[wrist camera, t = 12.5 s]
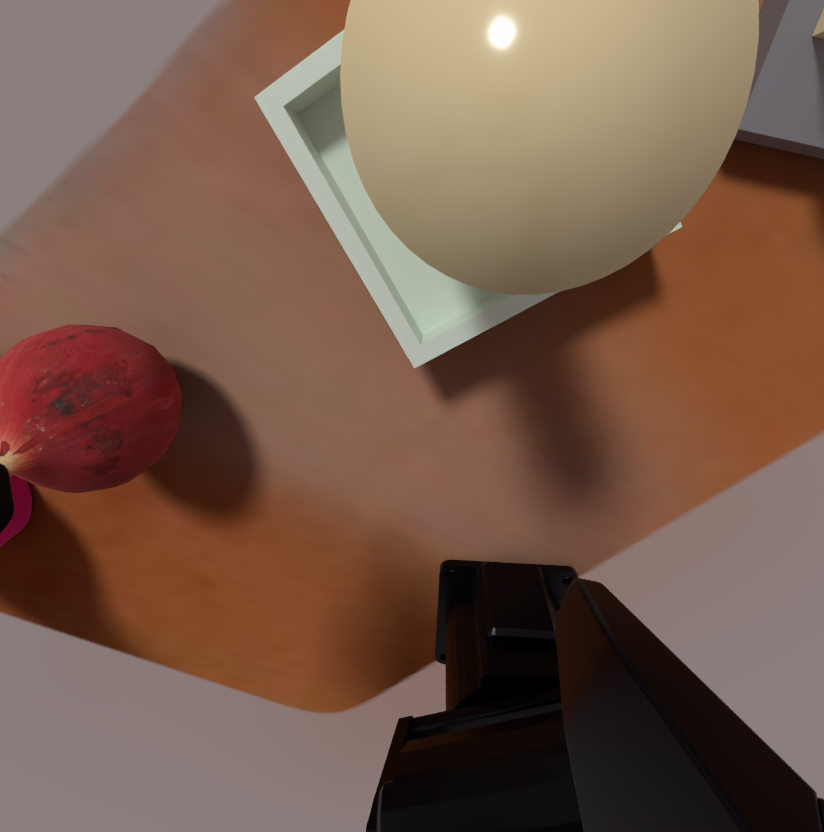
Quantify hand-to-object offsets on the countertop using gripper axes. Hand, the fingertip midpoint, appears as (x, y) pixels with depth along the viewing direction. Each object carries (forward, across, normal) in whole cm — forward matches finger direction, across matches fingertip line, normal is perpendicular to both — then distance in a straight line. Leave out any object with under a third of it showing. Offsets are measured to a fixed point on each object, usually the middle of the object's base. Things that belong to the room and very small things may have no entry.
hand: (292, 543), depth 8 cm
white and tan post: (+12, -2, -6) cm, 13 cm away
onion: (+13, +10, +4) cm, 17 cm away
